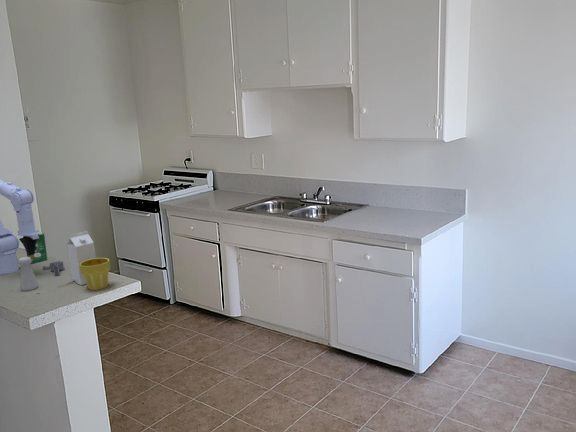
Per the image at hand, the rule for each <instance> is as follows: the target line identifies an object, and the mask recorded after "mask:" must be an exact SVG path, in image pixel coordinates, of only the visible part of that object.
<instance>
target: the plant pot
mask: <svg viewBox="0 0 576 432" xmlns="http://www.w3.org/2000/svg"><path fill="white" fill-rule="evenodd" d="M79 266H80V271H81V274H83V276H84V278H85V280H86V283H87V284H86V285H87V286H86V287H88V289H89V290H90V291H100V290H103V289H106V288H107V287H108V285H109V271H110V269H111V261H110V259H109V257H108V258H107V257H96V258H94V259H89V260H85V261H83V262H81V263H80V264H79Z"/></svg>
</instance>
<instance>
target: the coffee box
mask: <svg viewBox="0 0 576 432" xmlns="http://www.w3.org/2000/svg"><path fill="white" fill-rule="evenodd" d="M37 234H38V237H39V239H37V242H36V245H35V254H34V255H30V256H29V255H28V254H27V253H26V257H30V258H31V261H32V262H31V263H30V265H31V266H32V265H35V264H38V263H41V262H46V261H48V260H49V259H48V253H47V252H48V251H47V246H46V245H47V244H46V237H45V233H44V232H41V233H40V232H38V233H37Z"/></svg>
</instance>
